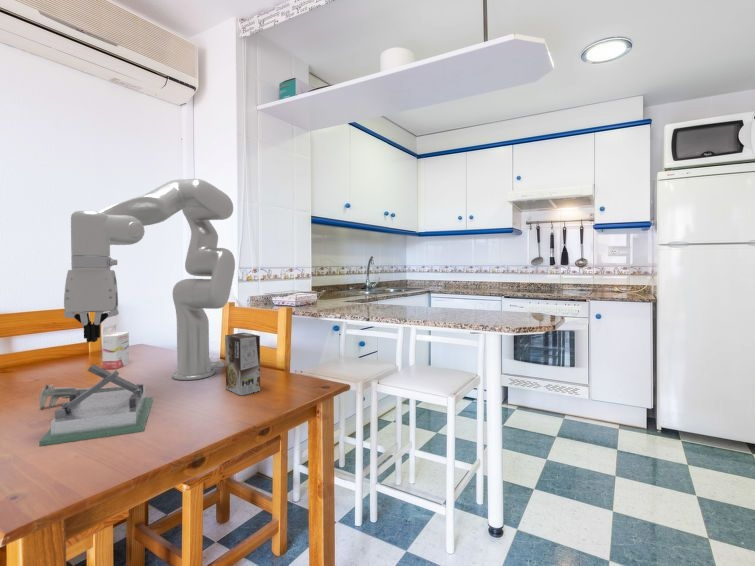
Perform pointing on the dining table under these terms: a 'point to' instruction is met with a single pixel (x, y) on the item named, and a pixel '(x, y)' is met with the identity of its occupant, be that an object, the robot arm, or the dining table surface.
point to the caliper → (67, 393)
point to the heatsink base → (100, 416)
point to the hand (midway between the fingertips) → (92, 341)
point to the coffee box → (242, 363)
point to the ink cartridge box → (115, 348)
